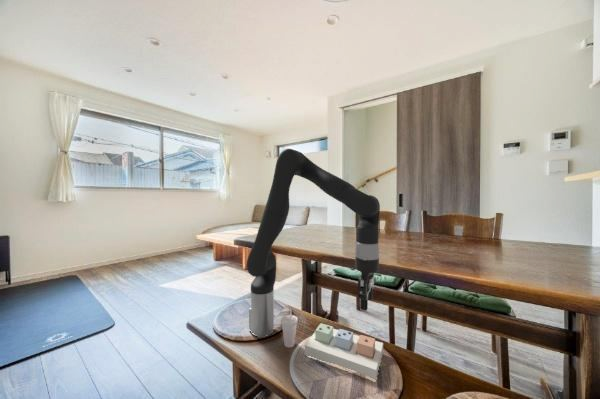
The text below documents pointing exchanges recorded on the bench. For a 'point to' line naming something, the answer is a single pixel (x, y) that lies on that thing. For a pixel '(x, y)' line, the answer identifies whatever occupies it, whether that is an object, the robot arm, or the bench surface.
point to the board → (345, 355)
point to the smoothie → (289, 329)
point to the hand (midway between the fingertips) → (366, 304)
